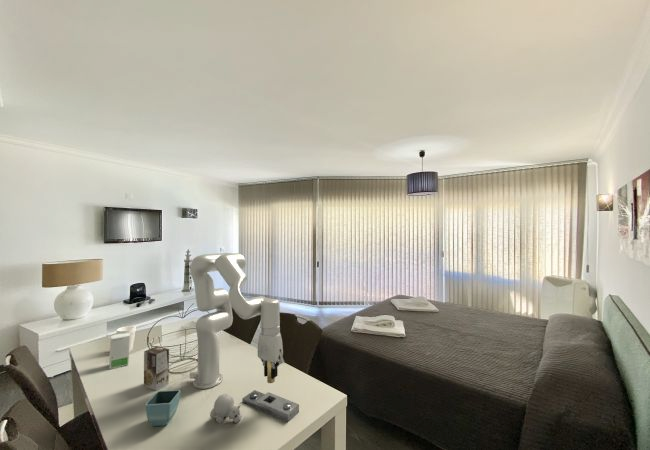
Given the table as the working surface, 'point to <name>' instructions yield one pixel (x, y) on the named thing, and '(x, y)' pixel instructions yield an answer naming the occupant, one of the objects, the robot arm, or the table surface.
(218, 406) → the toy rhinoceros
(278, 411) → the grey flat bar
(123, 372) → the table surface
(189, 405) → the table surface
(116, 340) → the skincare box
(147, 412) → the flower pot
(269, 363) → the pin
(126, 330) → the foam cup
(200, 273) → the robot arm
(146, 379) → the coffee box
